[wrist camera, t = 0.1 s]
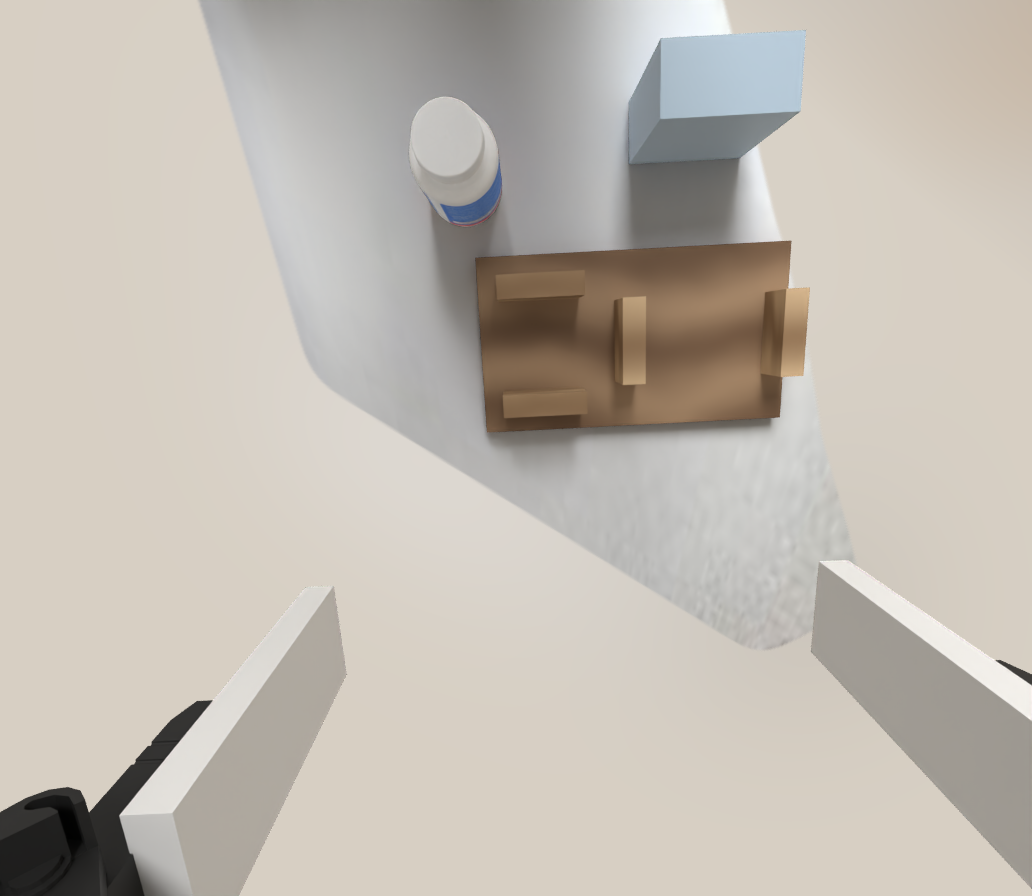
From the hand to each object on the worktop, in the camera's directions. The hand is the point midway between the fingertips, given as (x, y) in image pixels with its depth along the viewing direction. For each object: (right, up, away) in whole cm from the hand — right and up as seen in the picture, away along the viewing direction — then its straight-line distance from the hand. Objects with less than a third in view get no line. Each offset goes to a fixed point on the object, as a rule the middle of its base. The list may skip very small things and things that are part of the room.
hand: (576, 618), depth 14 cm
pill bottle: (-5, +24, +23) cm, 34 cm away
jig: (+7, +13, +26) cm, 30 cm away
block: (+10, +27, +22) cm, 37 cm away
